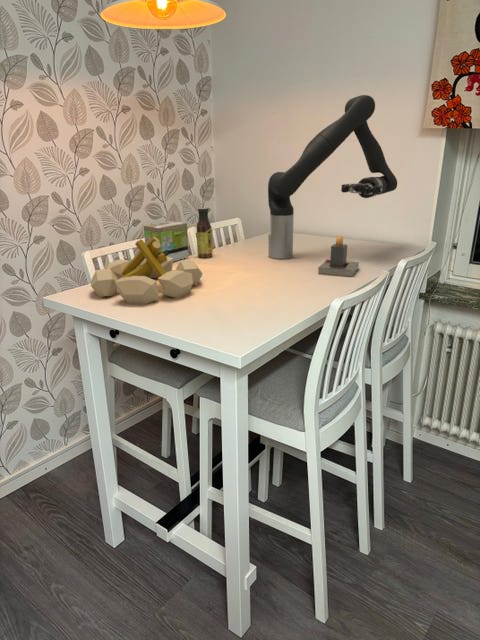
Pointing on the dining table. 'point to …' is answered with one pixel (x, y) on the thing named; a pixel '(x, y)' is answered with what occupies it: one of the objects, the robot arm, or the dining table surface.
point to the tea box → (169, 238)
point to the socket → (338, 269)
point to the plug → (338, 253)
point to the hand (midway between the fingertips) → (354, 190)
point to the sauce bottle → (204, 234)
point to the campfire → (146, 275)
